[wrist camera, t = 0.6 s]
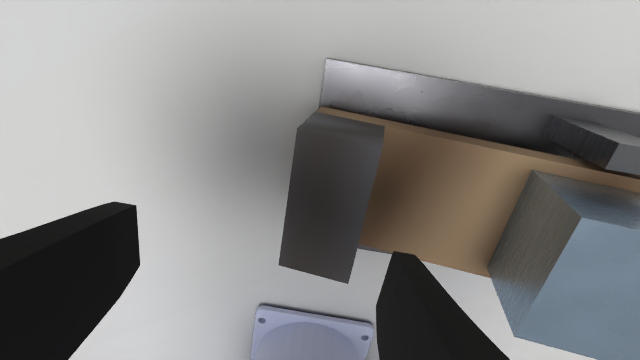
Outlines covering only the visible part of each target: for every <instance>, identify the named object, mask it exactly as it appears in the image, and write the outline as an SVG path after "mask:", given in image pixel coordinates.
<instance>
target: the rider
mask: <svg viewBox="0 0 640 360" xmlns="http://www.w3.org/2000/svg"><path fill="white" fill-rule="evenodd" d="M487 270H488V272H489V275H490V277H491V280H492V282H493V285H494V287H495V290H496V292H497V295H498V297H499V300H500V302H501V305H502V307H503V310H504V312H505V315H506V317H507V320H508V322H509V325H510V327H511V330H512V332H513V335H514V337H517V338H521V339H525V340H528V341H532V342H536V343H539V344H543V345H547V346H550V347H554V348H558V349H561V350H565V351H569V352H572V353H576V354H580V355H583V356H587V357H591V358H594V359H598V360H640V193H639V192H634V191H630V190H625V189H620V188H616V187H611V186H606V185H602V184H597V183H592V182H588V181H583V180H578V179H574V178H569V177H564V176H560V175H555V174H550V173H546V172H541V171H536V170H532V171H531V173H530V175H529V177H528V179H527V181H526V184H525V186H524V188H523V190H522V192H521V194H520V197H519V199H518V201H517V203H516V205H515V207H514V210H513V212H512V214H511V216H510V218H509V220H508V223H507V225H506V227H505V229H504V231H503V233H502V235H501V238H500V240H499V242H498V244H497V246H496V248H495V251H494V253H493V255H492V257H491V259H490V261H489V264H488V266H487Z"/></svg>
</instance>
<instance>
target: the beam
mask: <svg viewBox="0 0 640 360" xmlns="http://www.w3.org/2000/svg"><path fill="white" fill-rule="evenodd" d="M532 170H536V171H541V172H546V173H550V174H555V175H560V176H564V177H569V178H574V179H578V180H583V181H588V182H592V183H597V184H602V185H606V186H611V187H616V188H620V189H625V190H630V191H634V192H639V193H640V175H636V174H631V173H625V172H619V171H613V170H608V169H604V168H602V167H600V166H598V165H597V164H595V163H591V162H586V161H582V160H577V159H572V158H567V157H562V156H557V155H553V154H548V153H543V152H538V151H533V150H529V149H524V148H519V147H514V146H509V145H505V144H500V143H495V142H490V141H485V140H480V139H476V138H471V137H466V136H461V135H456V134H452V133H447V132H442V131H437V130H432V129H428V128H423V127H418V126H413V125H408V124H403V123H399V122H394V121H389V120H384V119H379V118H375V117H370V116H365V115H360V114H355V113H351V112H346V111H341V110H336V109H331V108H326V107H322V106H321V107H320V108H319V109H318V110H317V111H316V112H315V113H314V114H313V115H311V116H310V117H309V118H308V119H307V120H306V121H305V122H304V123H303V124H302V125H301V126H300V127H299V128H297V135H296V142H295V149H294V157H293V164H292V171H291V179H290V186H289V193H288V201H287V208H286V215H285V222H284V230H283V237H282V244H281V252H280V259H279V265H280V266H284V267H287V268H291V269H295V270H299V271H302V272H306V273H310V274H313V275H317V276H321V277H325V278H328V279H332V280H336V281H339V282H343V283H347V284H348V282H349V278H350V274H351V270H352V267H353V263H354V259H355V255H356V251H357V247H358V244H359V245H363V246H367V247H371V248H375V249H379V250H383V251H387V252H391V253H393V251H397V252H403V253H409V254H414V255H416V256H417V257H418V258H419V260H422V261H426V262H430V263H434V264H438V265H442V266H446V267H450V268H454V269H458V270H461V271H465V272H469V273H473V274H477V275H481V276H485V277H489V278H491V277H490V275H489V272H488V270H487V266H488V264H489V261H490V259H491V257H492V255H493V253H494V251H495V248H496V246H497V244H498V242H499V240H500V238H501V235H502V233H503V231H504V229H505V227H506V225H507V223H508V220H509V218H510V216H511V214H512V212H513V210H514V207H515V205H516V203H517V201H518V199H519V197H520V194H521V192H522V190H523V188H524V186H525V184H526V181H527V179H528V177H529V175H530V173H531V171H532Z"/></svg>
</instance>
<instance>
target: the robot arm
mask: <svg viewBox="0 0 640 360" xmlns="http://www.w3.org/2000/svg"><path fill="white" fill-rule="evenodd" d="M139 266H140V255H139V240H138V225H137V210H136V205H131V204H125V203H119V202H111V203H107V204H103V205H100V206H97V207H94V208H90V209H87V210H84V211H81V212H79V213H76V214H73V215H70V216H67V217H64V218H61V219H58V220H55V221H52V222H50V223H47V224H44V225H41V226H38V227H35V228H32V229H29V230H26V231H24V232H21V233H17V234H14V235H11V236H8V237H5V238H2V239H0V360H68V359H69V358H70V357H71V356H72V354H73V353H74V352H75V351H76V350H77V348H78V347H79V346H80V345H81V344H82V342H83V341H84V340H85V339H86V338H87V337H88V335H89V334H90V333H91V332H92V331H93V329H94V328H95V327H96V326H97V325H98V323H99V322H100V321H101V320H102V318H103V317H104V316H105V315H106V314H107V312H108V311H109V310H110V309H111V308H112V306H113V305H114V304H115V303H116V301H117V300H118V299H119V298H120V296H121V295H122V293H123V292H124V290H125V289H126V287H127V286H128V284H129V283H130V281H131V279H132V278H133V276H134V274H135V273H136V271H137V269H138V268H139ZM262 318H264V319H262ZM376 327H377V344H378V351H379V358H380V360H510V359H509V358H508V357H507V356H506V355H505V354H504V353H503V352H502V351H501V350H500V349H499V348H498V347H497V346H496V345H495V344H494V343H493V342H492V341H491V340H490V339H489V338H488V337H487V336H486V335H485V334H484V333H483V332H482V331H481V330H480V329H479V328H478V327H477V325H476V324H475V323H474V322H473V321H472V320H471V319H470V318H469V317H468V316H467V315H466V313H465V312H464V311H463V310H462V309H461V308H460V307H459V306H458V304H457V303H456V302H455V301H454V300H453V299H452V298H451V296H450V295H449V294H448V293H447V292H446V290H445V289H444V288H443V287H442V286H441V285H440V283H439V282H438V281H437V280H436V279H435V277H434V276H433V275H432V274H431V273H430V271H429V270H428V269H427V268H426V267H425V265H424V264H423V263H422V262H421V261H420V260H419V258H418V257H417V256H416V255H414V254H409V253H403V252H397V251H393V254H392V257H391V260H390V263H389V266H388V269H387V273H386V276H385V279H384V282H383V285H382V289H381V292H380V295H379V298H378V301H377V305H376ZM373 334H374V327H373V326H372V325H371V324H369V323H364V322H359V321H353V320H347V319H341V318H335V317H329V316H323V315H317V314H311V313H305V312H299V311H293V310H287V309H281V308H275V307H269V306H259V307H258V308H257V310H256V313H255V321H254V330H253V340H252V349H251V358H250V360H365V359H366V356H367V353H368V350H369V347H370V344H371V341H372V338H373ZM363 335H366V336H363Z"/></svg>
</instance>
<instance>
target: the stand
mask: <svg viewBox="0 0 640 360" xmlns="http://www.w3.org/2000/svg"><path fill="white" fill-rule="evenodd" d="M321 106H322V107H326V108H331V109H336V110H341V111H346V112H351V113H355V114H360V115H365V116H370V117H375V118H379V119H384V120H389V121H394V122H399V123H403V124H408V125H413V126H418V127H423V128H428V129H432V130H437V131H442V132H447V133H452V134H456V135H461V136H466V137H471V138H476V139H480V140H485V141H490V142H495V143H500V144H505V145H509V146H514V147H519V148H524V149H529V150H533V151H538V152H543V153H548V154H553V155H557V156H562V157H567V158H572V159H577V160H582V161H586V162H591V163H595V164H597V165H598V166H600V167H602V168H604V169H608V170H613V171H619V172H625V173H631V174H636V175H640V113H636V112H630V111H625V110H619V109H613V108H608V107H602V106H596V105H591V104H585V103H579V102H574V101H568V100H562V99H557V98H551V97H545V96H540V95H534V94H528V93H523V92H517V91H511V90H506V89H500V88H494V87H489V86H483V85H477V84H472V83H466V82H461V81H455V80H449V79H444V78H438V77H432V76H427V75H421V74H415V73H410V72H404V71H398V70H393V69H387V68H381V67H376V66H370V65H364V64H359V63H353V62H347V61H342V60H336V59H330V58H327V60H326V66H325V72H324V79H323V85H322V91H321V97H320V103H319V108H320V107H321ZM357 248H358V249H364V250H370V251H376V252H382V253H387V254H393V253H391V252H387V251H383V250H379V249H375V248H371V247H367V246H363V245H359V244H358V247H357Z"/></svg>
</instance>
